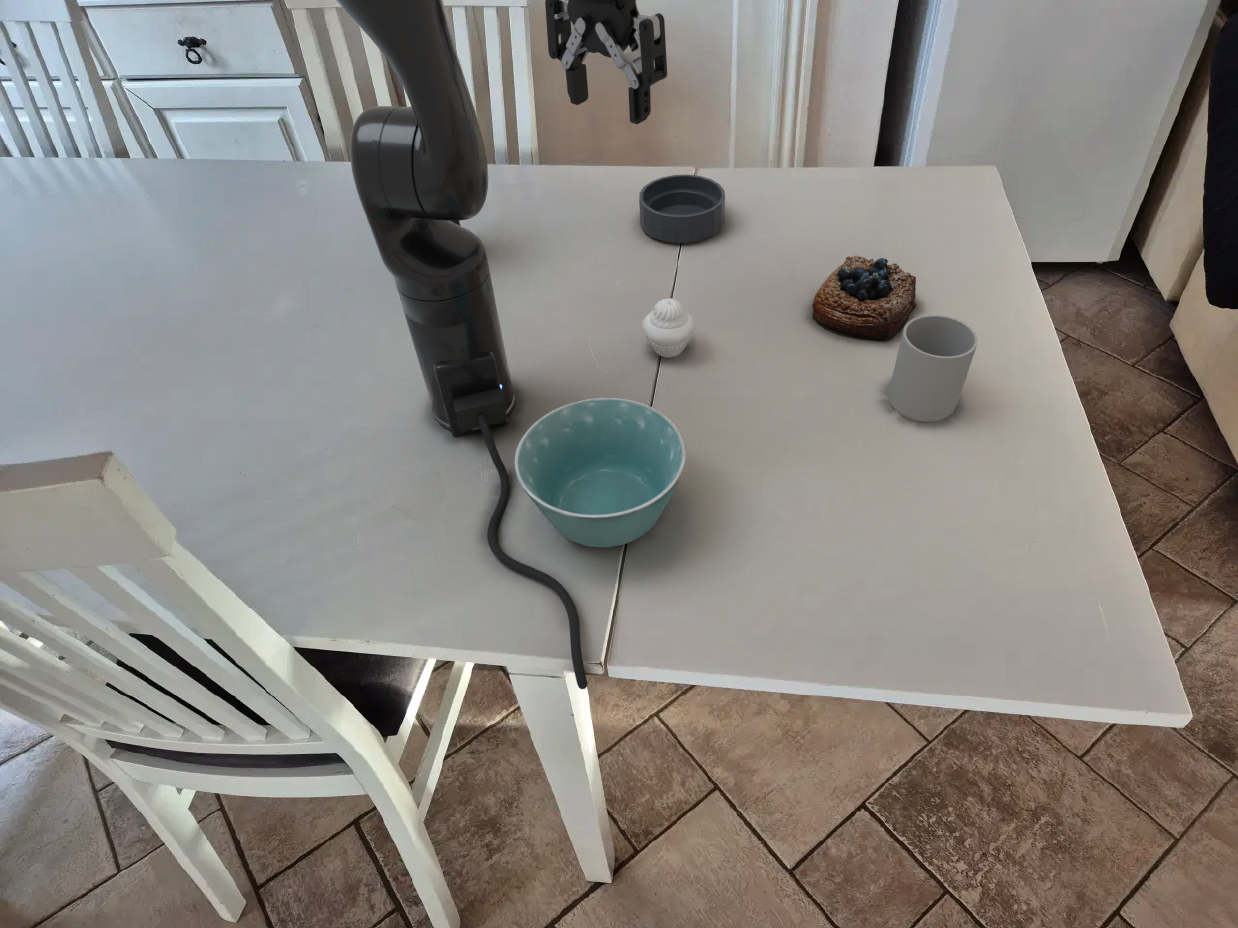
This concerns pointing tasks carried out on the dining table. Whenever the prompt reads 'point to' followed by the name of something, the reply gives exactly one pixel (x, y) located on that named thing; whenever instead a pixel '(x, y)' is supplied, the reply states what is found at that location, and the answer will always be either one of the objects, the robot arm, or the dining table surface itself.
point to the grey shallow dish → (682, 208)
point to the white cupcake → (668, 328)
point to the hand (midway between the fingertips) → (608, 111)
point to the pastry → (865, 300)
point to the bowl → (601, 469)
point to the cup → (931, 367)
